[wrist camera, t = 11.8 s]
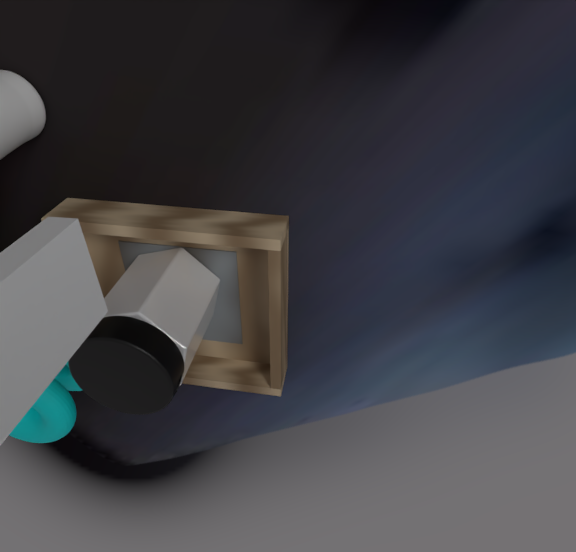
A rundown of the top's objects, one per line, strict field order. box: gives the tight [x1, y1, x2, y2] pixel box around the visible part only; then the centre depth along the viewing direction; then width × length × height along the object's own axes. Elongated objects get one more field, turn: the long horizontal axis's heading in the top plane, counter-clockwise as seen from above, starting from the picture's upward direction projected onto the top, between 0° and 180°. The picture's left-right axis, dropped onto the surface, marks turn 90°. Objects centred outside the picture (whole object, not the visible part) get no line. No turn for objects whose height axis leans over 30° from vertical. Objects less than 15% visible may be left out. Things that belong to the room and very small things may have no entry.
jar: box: [68, 248, 220, 414], centre depth 38 cm, size 9×8×12 cm
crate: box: [41, 198, 289, 396], centre depth 43 cm, size 20×18×4 cm
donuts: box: [9, 362, 82, 443], centre depth 48 cm, size 10×10×10 cm
